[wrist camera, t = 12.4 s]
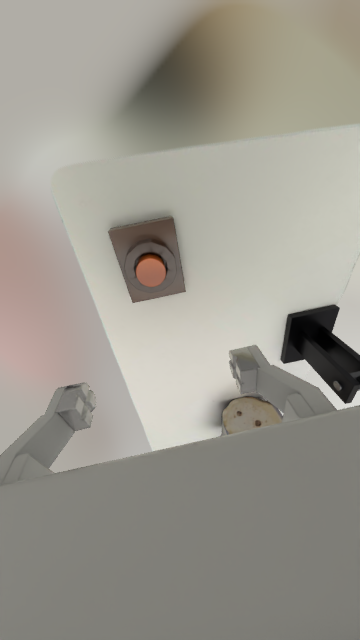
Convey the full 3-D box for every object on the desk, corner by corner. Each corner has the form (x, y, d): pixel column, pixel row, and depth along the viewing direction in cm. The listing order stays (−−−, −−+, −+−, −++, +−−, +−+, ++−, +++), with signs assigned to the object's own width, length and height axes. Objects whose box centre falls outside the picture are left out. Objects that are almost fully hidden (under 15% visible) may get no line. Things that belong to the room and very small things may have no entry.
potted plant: (223, 465, 36) (238, 554, 46) (317, 439, 37) (311, 531, 47) (200, 397, 52) (215, 474, 63) (266, 380, 53) (270, 459, 64)
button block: (110, 228, 26) (105, 234, 23) (171, 215, 26) (174, 219, 23) (133, 296, 32) (131, 309, 28) (183, 285, 32) (187, 297, 29)
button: (133, 257, 25) (132, 261, 23) (161, 251, 25) (162, 255, 24) (141, 284, 27) (140, 289, 26) (167, 278, 27) (168, 283, 26)
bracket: (287, 314, 38) (348, 370, 26) (334, 304, 38) (415, 355, 26) (280, 359, 44) (326, 420, 33) (320, 351, 45) (380, 408, 33)
